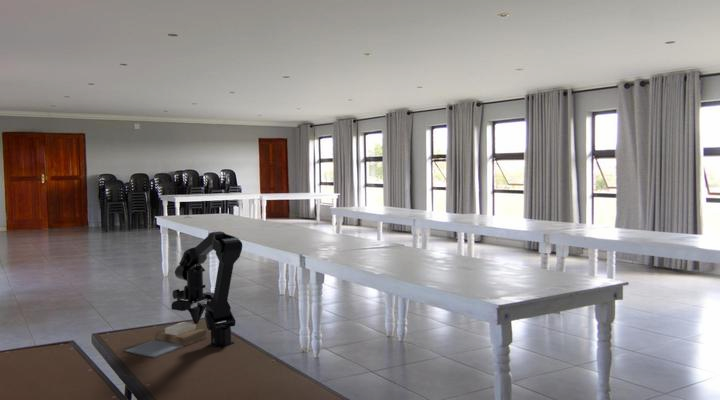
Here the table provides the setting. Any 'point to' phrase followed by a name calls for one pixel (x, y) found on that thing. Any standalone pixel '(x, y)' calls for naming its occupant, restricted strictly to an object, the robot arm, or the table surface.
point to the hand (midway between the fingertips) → (196, 323)
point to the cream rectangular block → (180, 328)
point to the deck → (181, 337)
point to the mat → (154, 348)
